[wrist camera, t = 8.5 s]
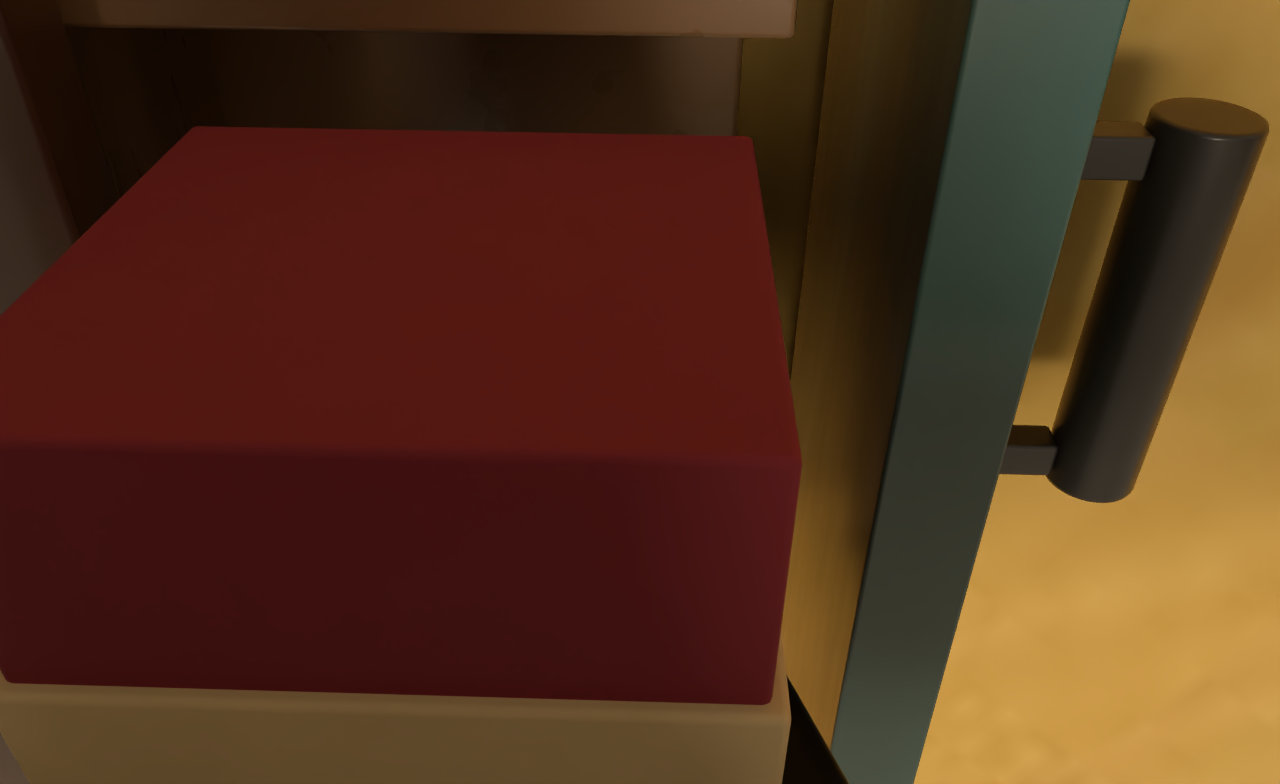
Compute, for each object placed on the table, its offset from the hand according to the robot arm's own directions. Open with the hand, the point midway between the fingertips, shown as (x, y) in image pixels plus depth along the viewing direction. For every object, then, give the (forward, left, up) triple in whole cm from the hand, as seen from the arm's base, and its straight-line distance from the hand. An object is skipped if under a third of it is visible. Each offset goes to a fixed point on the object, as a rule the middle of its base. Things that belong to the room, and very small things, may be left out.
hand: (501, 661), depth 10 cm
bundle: (0, 0, -1) cm, 1 cm away
